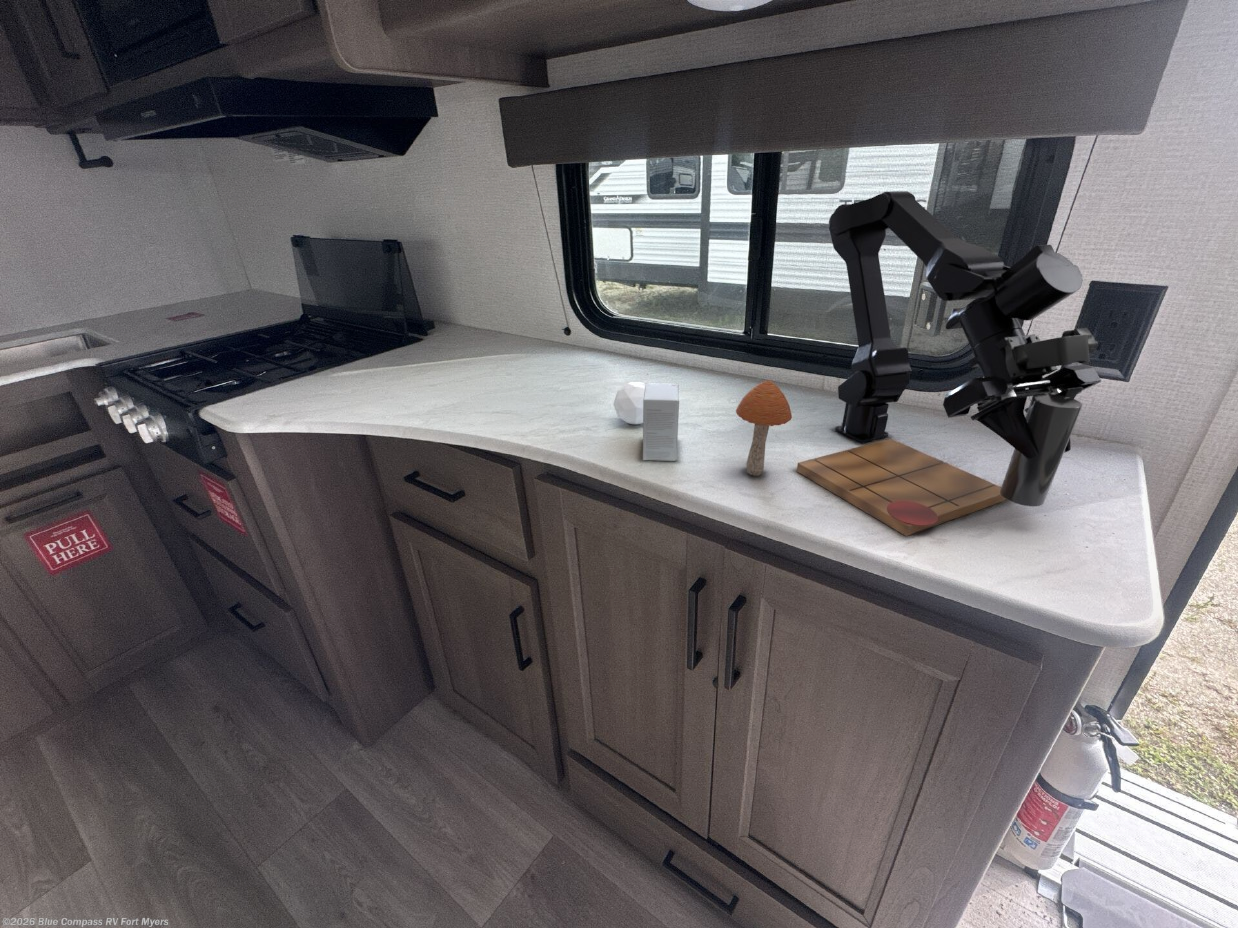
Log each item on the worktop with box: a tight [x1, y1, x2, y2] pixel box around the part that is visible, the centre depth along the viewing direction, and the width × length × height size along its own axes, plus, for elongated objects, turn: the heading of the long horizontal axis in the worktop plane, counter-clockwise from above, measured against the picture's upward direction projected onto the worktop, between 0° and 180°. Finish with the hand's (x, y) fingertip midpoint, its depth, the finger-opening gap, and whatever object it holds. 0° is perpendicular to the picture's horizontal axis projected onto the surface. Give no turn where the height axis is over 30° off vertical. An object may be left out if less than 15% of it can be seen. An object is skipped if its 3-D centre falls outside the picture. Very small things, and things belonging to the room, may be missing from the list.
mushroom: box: [735, 379, 793, 477], centre depth 83 cm, size 8×8×15 cm
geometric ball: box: [613, 382, 646, 425], centre depth 104 cm, size 8×8×8 cm
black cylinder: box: [1000, 394, 1083, 507], centre depth 69 cm, size 5×5×13 cm
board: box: [796, 438, 1008, 537], centre depth 82 cm, size 21×20×2 cm
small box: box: [642, 382, 680, 462], centre depth 92 cm, size 8×6×10 cm
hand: (1049, 454), depth 68 cm, fingers closed on black cylinder, 5 cm apart
